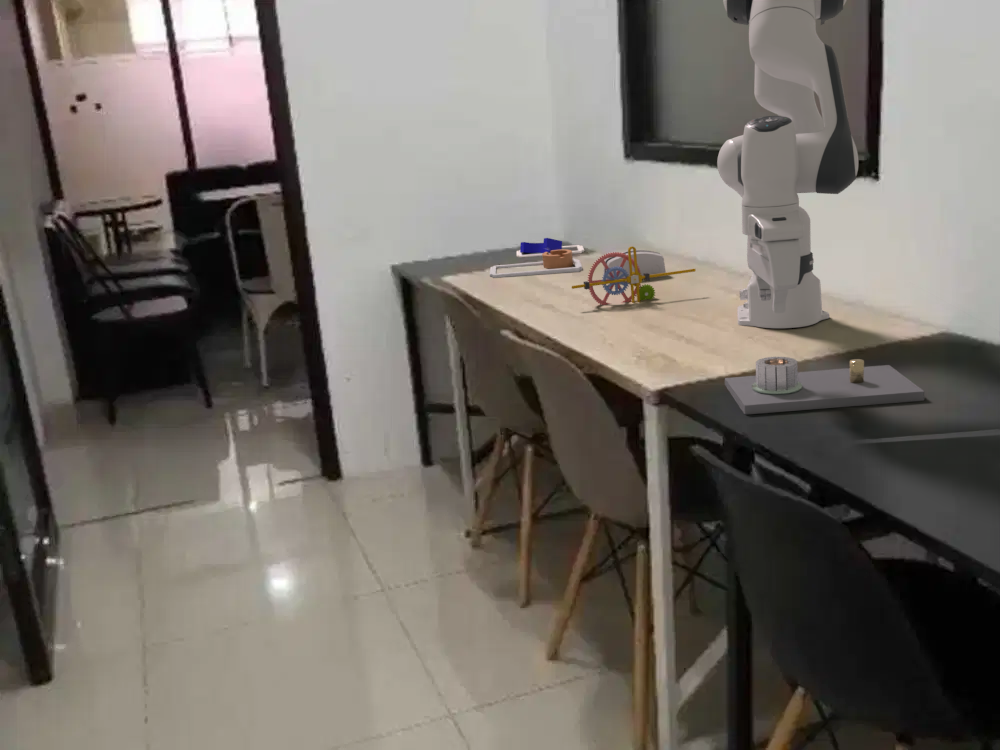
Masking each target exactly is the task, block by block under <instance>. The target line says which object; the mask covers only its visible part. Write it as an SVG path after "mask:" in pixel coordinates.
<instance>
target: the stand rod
mask: <svg viewBox="0 0 1000 750" xmlns="http://www.w3.org/2000/svg"><path fill="white" fill-rule="evenodd" d="M864 367H865V360H864V359H862V358H861V359H860V358H854V359H849V368H850V382H851V383H863V382H864Z"/></svg>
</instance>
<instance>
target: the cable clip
mask: <svg viewBox="0 0 1000 750" xmlns="http://www.w3.org/2000/svg"><path fill="white" fill-rule="evenodd" d="M562 246H563V241H562V240H559V239H553V238H551V237H544V238H543V242H526V241H521V242H520V249H519V250H520V252H521V253H522V254H541V253H544V252H549V253H550V251H552V250H560V249H563V248H562Z"/></svg>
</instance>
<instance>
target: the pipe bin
mask: <svg viewBox="0 0 1000 750" xmlns="http://www.w3.org/2000/svg"><path fill="white" fill-rule="evenodd" d="M531 266H543V261H537V262H536V261H535V262H521V263H512V264H511V263H510V264H500V265H499V264H498V265H493V266H490V269H489V277H490V278H493V279H496V278H509V277H524V276H537V275H538V276H539V275H550V274H551V275H552V274H565V273H566V274H567V273H580V271H583V266H582V263H581V260H580V259H577V258H573V266H571V267H568V268H558V269H548V268H545V269H537V270H534V269H533V270H526V271H524V270H523V271H513V272H500V273H497V269H505V268H517V267H531Z"/></svg>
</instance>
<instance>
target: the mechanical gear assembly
mask: <svg viewBox="0 0 1000 750" xmlns="http://www.w3.org/2000/svg"><path fill="white" fill-rule="evenodd" d="M631 250H633V253H634V260H633V259H632V257H631ZM636 250H637V249H636V247H635V246H629V247H628V248H627V251H628V255H626V254H624V253H622V254H621V252H619V251H617V252H616V251H615V252H614V251H613V252H608V253H605V254H603V255H601V256H599V258H597V259H596V260H595V261H594V262H593V263H592V265H591V266H590V270H588V271H589V272H588V275H587V276H588V277H587V279H586V280H587V281H583V284H577V285H571V289H572V290H573V289H580V288H583V289H584V290H588V291H589V293H590V295H591V297H592V299H593V300H594V301H595V302H596V303H597V304H599V305H601V306H604V305H612V303H610V302H607V301H608V299H609V297H610V295H611V296H619V295H621V296H622V297H623V299H624V300H623V301H621V302H620V303H630V302H632V303H633V304H635V299H636V301H637V303H641V301H644V300H653V299H655V296H656V292H655V291H656V289H655V287H653V285H651V284H647V283H644V284H642V283H643V281H645V282H648V281H650V280H651V279H652V278H659V276H661V277H666V276H673V275H679V274H680V275H681V274H686V273H693V272H696V268H690V269H683V270H682V269H681V270H675V271H669V272H668V271H667V272H666V273H660V274H653V275H649V273H643V274H644V276H642V275H640V274H641V273H640V271H641V270H639V269H640V268H638V267H639V266H637V265H638V264H637V256H636ZM610 257H622V258H623V260H622V263H621V265H620V267H618V266H616V267H615V266H614V268H613V267H611V268H609V267H608V266H607V264H606V262H605V260H606V259H607V258H610ZM626 260H628V261H629V271H630V275H629V274H627V273H628V272H627V271H626V270H624V268H623V266H624V264H625V262H626ZM600 264H602V265H603V268H604V267H605V269H606V270H607V271H606V273H604V272H603V273H604V274H605V275H603V274H602V277H601V278H602V279H598V280H597V279H596V280H595V279H594V280H593V276H594V273H595V272H596V269H597V267H598V266H599V265H600ZM632 265H633V267H634V268H635V273H634V272H632ZM622 268H623V269H622ZM617 270H618V271H617ZM612 271H614V275H613V274H612ZM616 271H617V272H616ZM620 272H622V273H623V274H621V275H620V276H619V274H620ZM608 274H609V275H610V276H608ZM628 275H629V276H628ZM603 276H604V277H603ZM618 276H619V277H618ZM624 276H625V278H622V277H624ZM606 278H607V279H606ZM629 285H630V292H631V293H630V296H629V297H628V296H627V294H626V293H625V291H627V290H626V289H628V287H629ZM595 286H602V288H603V290H604V291H605V292H606V294H605V296H604V298H603V300H602V299H601V298H600V297H599V296H598V295H597V293H596V292H595V289H594V287H595ZM622 286H623V287H622ZM613 289H614V290H613Z"/></svg>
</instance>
